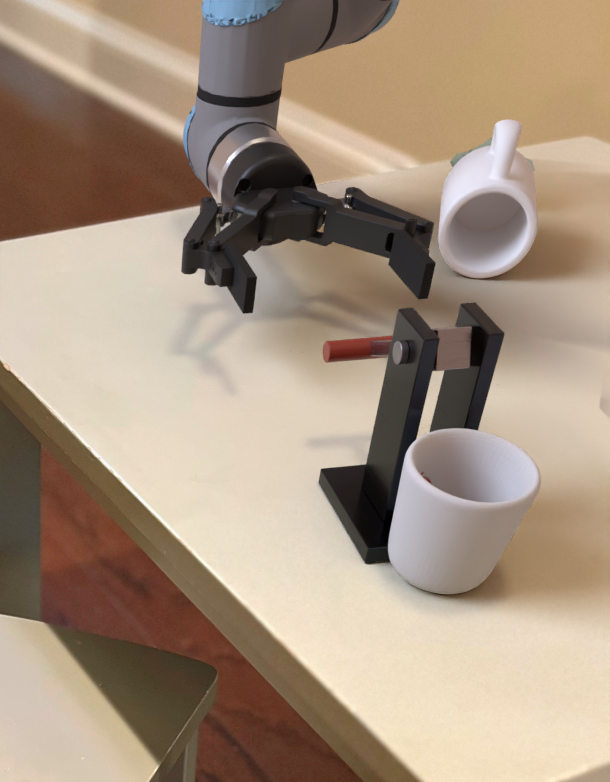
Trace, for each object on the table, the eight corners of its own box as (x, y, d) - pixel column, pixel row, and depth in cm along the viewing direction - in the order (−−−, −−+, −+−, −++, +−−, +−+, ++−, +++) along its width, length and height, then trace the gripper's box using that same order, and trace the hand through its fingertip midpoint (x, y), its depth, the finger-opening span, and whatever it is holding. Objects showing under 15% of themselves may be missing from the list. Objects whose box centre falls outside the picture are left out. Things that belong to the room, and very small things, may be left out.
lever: (322, 369, 83) (322, 334, 82) (417, 361, 84) (418, 325, 83) (397, 374, 71) (398, 332, 70) (508, 364, 72) (510, 322, 71)
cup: (412, 493, 81) (447, 391, 75) (525, 534, 79) (571, 431, 73) (354, 579, 75) (387, 475, 69) (475, 626, 73) (520, 523, 67)
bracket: (317, 482, 84) (351, 291, 74) (438, 471, 85) (488, 280, 75) (364, 564, 77) (408, 364, 67) (496, 550, 78) (559, 351, 68)
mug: (521, 239, 113) (558, 102, 105) (523, 283, 106) (562, 140, 98) (432, 232, 115) (462, 97, 107) (428, 275, 108) (460, 133, 100)
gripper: (391, 220, 106) (486, 324, 91) (119, 241, 104) (171, 350, 89) (408, 130, 101) (513, 224, 86) (122, 150, 99) (178, 249, 84)
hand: (339, 288), depth 87 cm, fingers open, 13 cm apart
